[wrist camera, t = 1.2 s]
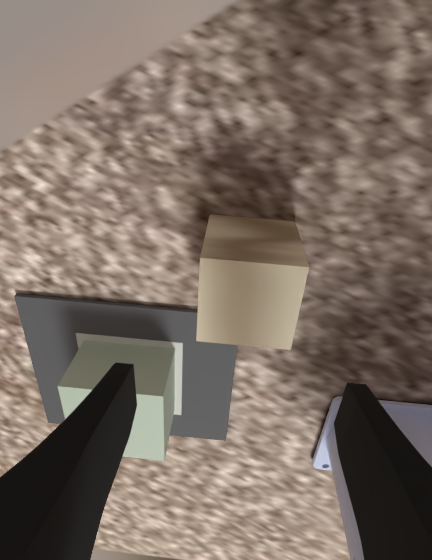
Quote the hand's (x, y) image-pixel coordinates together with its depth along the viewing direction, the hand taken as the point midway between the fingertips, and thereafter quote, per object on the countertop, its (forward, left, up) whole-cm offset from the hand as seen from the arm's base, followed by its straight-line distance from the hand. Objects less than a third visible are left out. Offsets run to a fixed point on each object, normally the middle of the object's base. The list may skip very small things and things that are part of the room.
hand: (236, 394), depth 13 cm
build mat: (+7, +10, -10) cm, 15 cm away
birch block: (0, 0, -10) cm, 10 cm away
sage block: (+7, +10, -9) cm, 15 cm away
